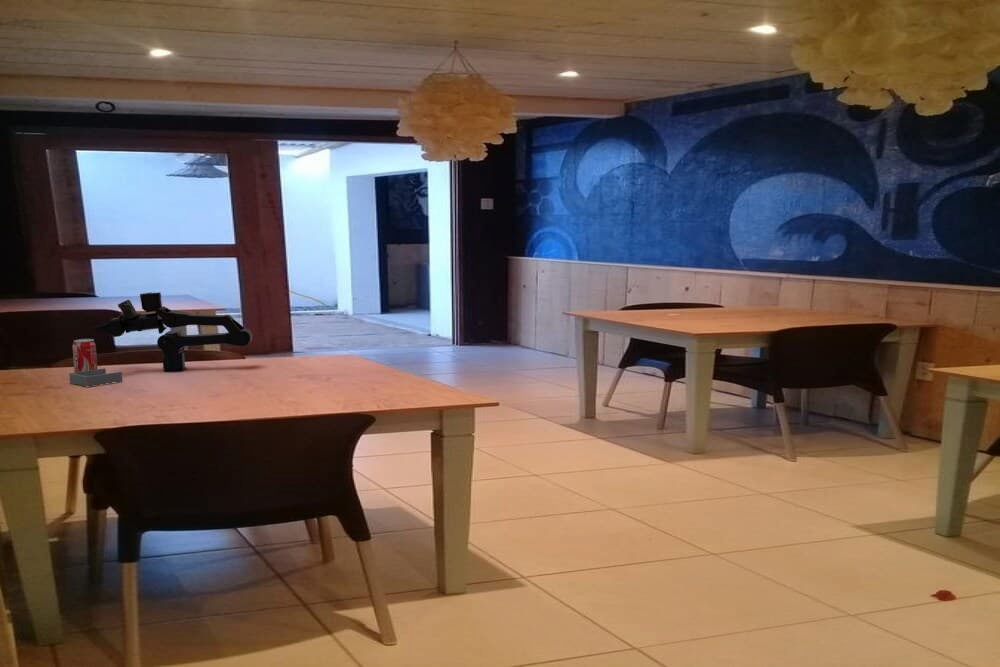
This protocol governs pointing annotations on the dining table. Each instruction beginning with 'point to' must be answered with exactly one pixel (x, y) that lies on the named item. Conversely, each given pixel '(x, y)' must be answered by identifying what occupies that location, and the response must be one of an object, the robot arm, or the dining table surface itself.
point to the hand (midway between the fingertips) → (98, 327)
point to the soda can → (84, 355)
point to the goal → (94, 377)
